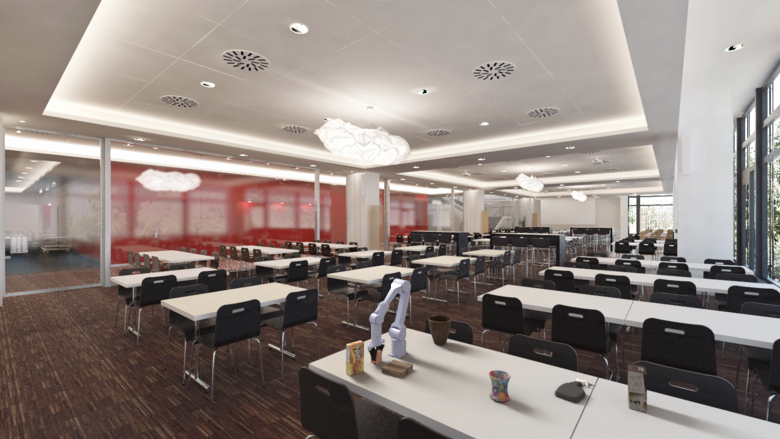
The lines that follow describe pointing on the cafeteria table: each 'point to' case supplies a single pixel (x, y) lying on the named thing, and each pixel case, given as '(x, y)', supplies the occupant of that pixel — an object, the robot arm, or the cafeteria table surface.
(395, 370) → the walnut base
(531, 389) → the cafeteria table surface
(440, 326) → the plant pot
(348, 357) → the candy box
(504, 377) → the mug
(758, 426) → the cafeteria table surface
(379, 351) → the terracotta block
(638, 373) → the coffee box
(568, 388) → the spray bottle
